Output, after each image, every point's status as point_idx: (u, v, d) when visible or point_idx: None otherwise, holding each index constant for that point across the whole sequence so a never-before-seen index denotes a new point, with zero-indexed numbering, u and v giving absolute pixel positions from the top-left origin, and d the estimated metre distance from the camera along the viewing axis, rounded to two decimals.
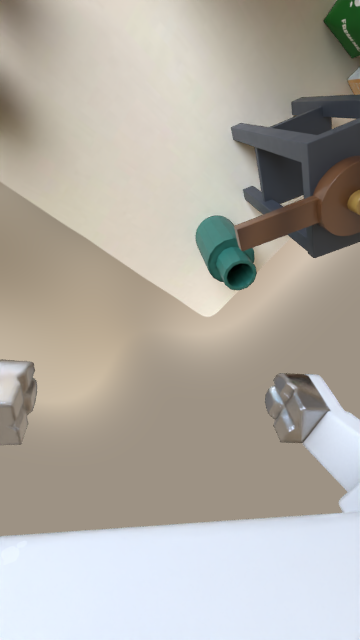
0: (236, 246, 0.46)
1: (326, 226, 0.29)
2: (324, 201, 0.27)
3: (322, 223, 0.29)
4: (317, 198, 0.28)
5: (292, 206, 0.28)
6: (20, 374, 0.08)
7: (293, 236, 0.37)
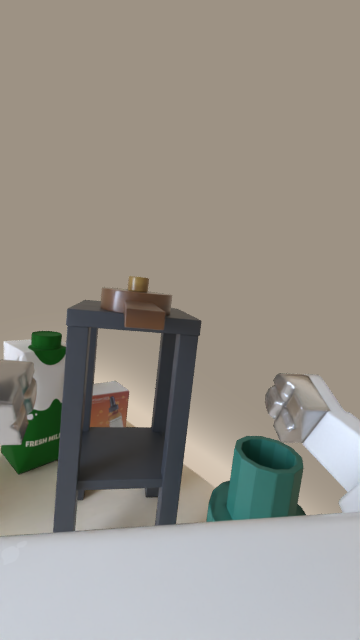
0: (226, 500, 0.24)
1: (155, 294, 0.26)
2: (126, 291, 0.26)
3: (151, 296, 0.26)
4: (124, 301, 0.26)
5: (124, 306, 0.23)
6: (20, 375, 0.08)
7: (188, 375, 0.28)
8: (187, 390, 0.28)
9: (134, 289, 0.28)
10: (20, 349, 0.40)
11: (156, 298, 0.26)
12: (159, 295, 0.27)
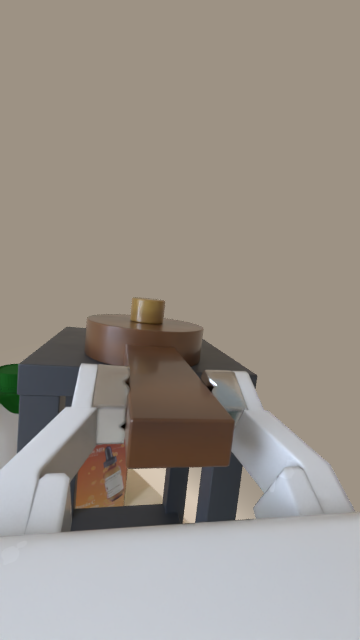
0: None
1: (179, 331, 0.15)
2: (128, 327, 0.14)
3: (173, 336, 0.15)
4: (125, 346, 0.14)
5: (125, 365, 0.12)
6: (124, 378, 0.09)
7: (234, 466, 0.16)
8: (232, 492, 0.16)
9: (141, 320, 0.17)
10: None
11: (181, 339, 0.15)
12: (186, 333, 0.15)
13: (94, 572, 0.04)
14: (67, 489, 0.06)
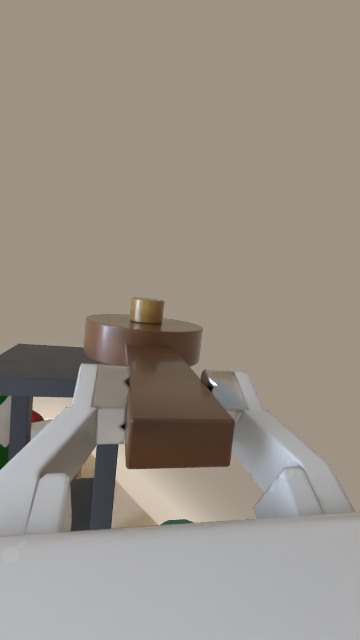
0: None
1: (179, 331, 0.15)
2: (127, 327, 0.14)
3: (173, 335, 0.15)
4: (125, 346, 0.14)
5: None
6: (124, 379, 0.09)
7: None
8: (111, 458, 0.25)
9: (140, 320, 0.17)
10: None
11: (180, 339, 0.15)
12: (185, 333, 0.15)
13: (94, 572, 0.04)
14: (67, 489, 0.06)
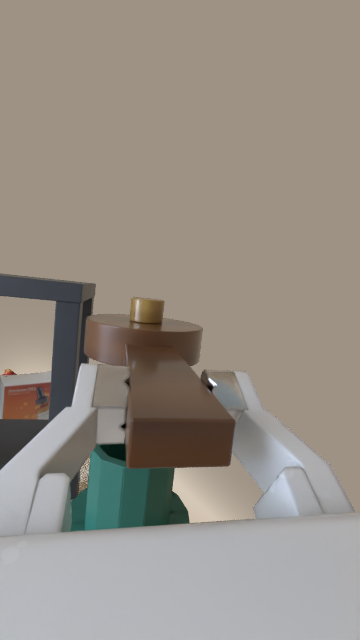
0: None
1: (179, 331, 0.15)
2: (128, 327, 0.14)
3: (173, 335, 0.15)
4: (125, 346, 0.14)
5: None
6: (124, 379, 0.09)
7: (69, 351, 0.23)
8: (69, 369, 0.23)
9: (141, 320, 0.17)
10: None
11: (180, 339, 0.15)
12: (185, 333, 0.15)
13: (94, 572, 0.04)
14: (67, 489, 0.06)
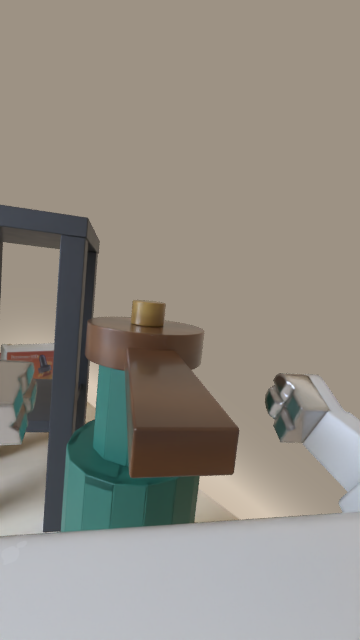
0: None
1: (180, 334, 0.15)
2: (129, 331, 0.14)
3: (174, 339, 0.15)
4: (126, 350, 0.14)
5: (126, 369, 0.12)
6: (20, 374, 0.08)
7: (75, 287, 0.22)
8: (74, 307, 0.22)
9: (142, 323, 0.17)
10: None
11: (182, 342, 0.15)
12: (187, 336, 0.15)
13: (94, 572, 0.04)
14: None
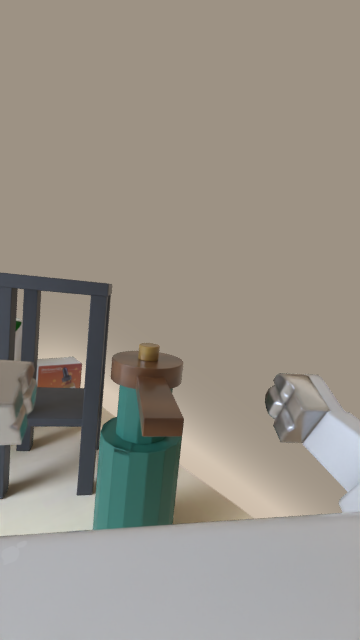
0: None
1: (167, 367, 0.26)
2: (138, 367, 0.25)
3: (164, 370, 0.26)
4: (136, 377, 0.25)
5: (137, 390, 0.23)
6: (20, 374, 0.08)
7: (99, 329, 0.33)
8: (99, 342, 0.34)
9: (145, 359, 0.28)
10: None
11: (168, 372, 0.26)
12: (171, 368, 0.26)
13: (94, 572, 0.04)
14: None
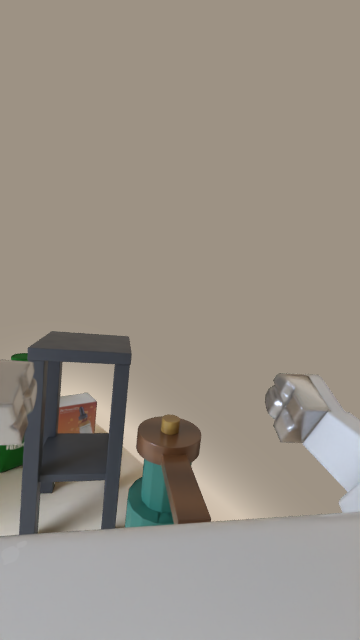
0: None
1: (188, 445, 0.29)
2: (163, 446, 0.29)
3: (186, 448, 0.29)
4: (162, 456, 0.29)
5: (165, 474, 0.26)
6: (20, 374, 0.08)
7: (122, 394, 0.37)
8: (122, 405, 0.37)
9: (167, 433, 0.31)
10: None
11: (189, 449, 0.29)
12: (192, 445, 0.29)
13: (94, 572, 0.04)
14: None
